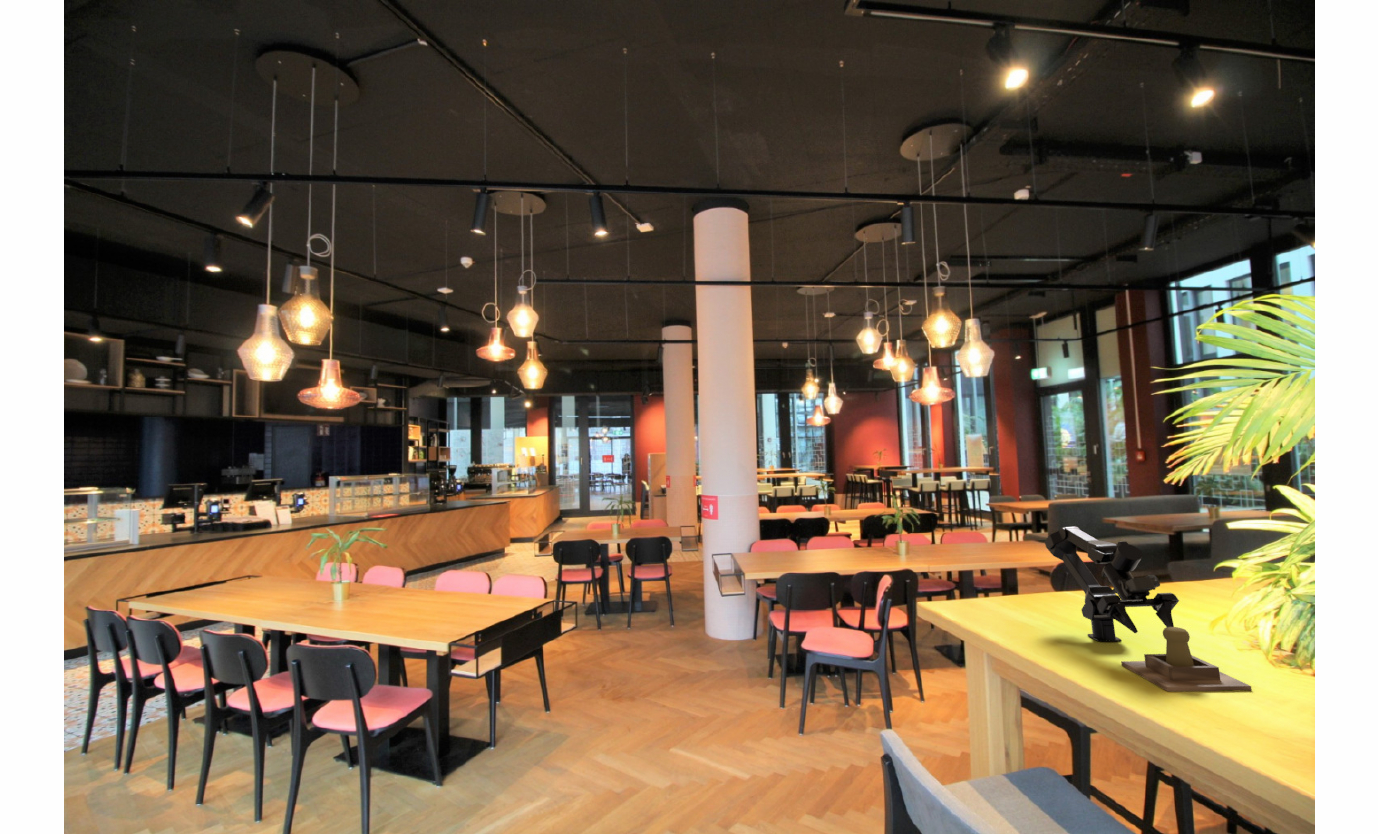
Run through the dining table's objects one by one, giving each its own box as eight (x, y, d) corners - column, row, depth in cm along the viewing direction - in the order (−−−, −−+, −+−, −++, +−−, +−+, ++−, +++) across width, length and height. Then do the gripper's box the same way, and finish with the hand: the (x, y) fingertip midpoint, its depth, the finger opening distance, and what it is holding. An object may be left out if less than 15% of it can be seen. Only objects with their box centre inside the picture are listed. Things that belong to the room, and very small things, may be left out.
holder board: (1121, 665, 155) (1119, 649, 155) (1195, 663, 153) (1193, 648, 153) (1167, 691, 137) (1165, 674, 138) (1251, 690, 135) (1249, 672, 135)
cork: (1203, 674, 143) (1196, 629, 144) (1186, 678, 141) (1180, 632, 142) (1176, 666, 149) (1170, 623, 150) (1159, 670, 147) (1154, 626, 148)
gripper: (1097, 566, 161) (1128, 617, 150) (1169, 563, 160) (1206, 614, 148) (1085, 588, 169) (1113, 639, 157) (1153, 586, 167) (1187, 636, 155)
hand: (1154, 631), depth 154 cm, fingers open, 9 cm apart
